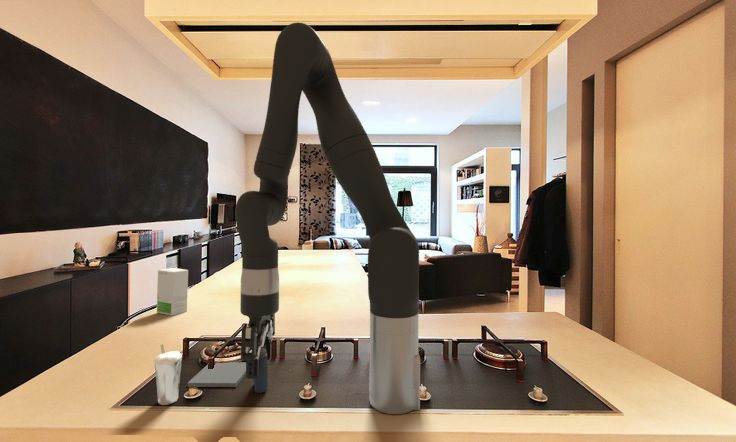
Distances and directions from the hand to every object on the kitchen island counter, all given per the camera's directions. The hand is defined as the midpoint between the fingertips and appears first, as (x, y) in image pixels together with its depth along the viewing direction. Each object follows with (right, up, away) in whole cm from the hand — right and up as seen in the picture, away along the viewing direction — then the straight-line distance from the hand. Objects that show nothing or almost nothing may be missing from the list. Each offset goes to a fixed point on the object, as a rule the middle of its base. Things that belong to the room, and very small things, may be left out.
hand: (259, 367), depth 71 cm
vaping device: (0, -4, 0) cm, 4 cm away
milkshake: (-16, -4, -5) cm, 17 cm away
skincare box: (-49, -3, +54) cm, 73 cm away
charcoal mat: (-10, -4, +5) cm, 12 cm away
